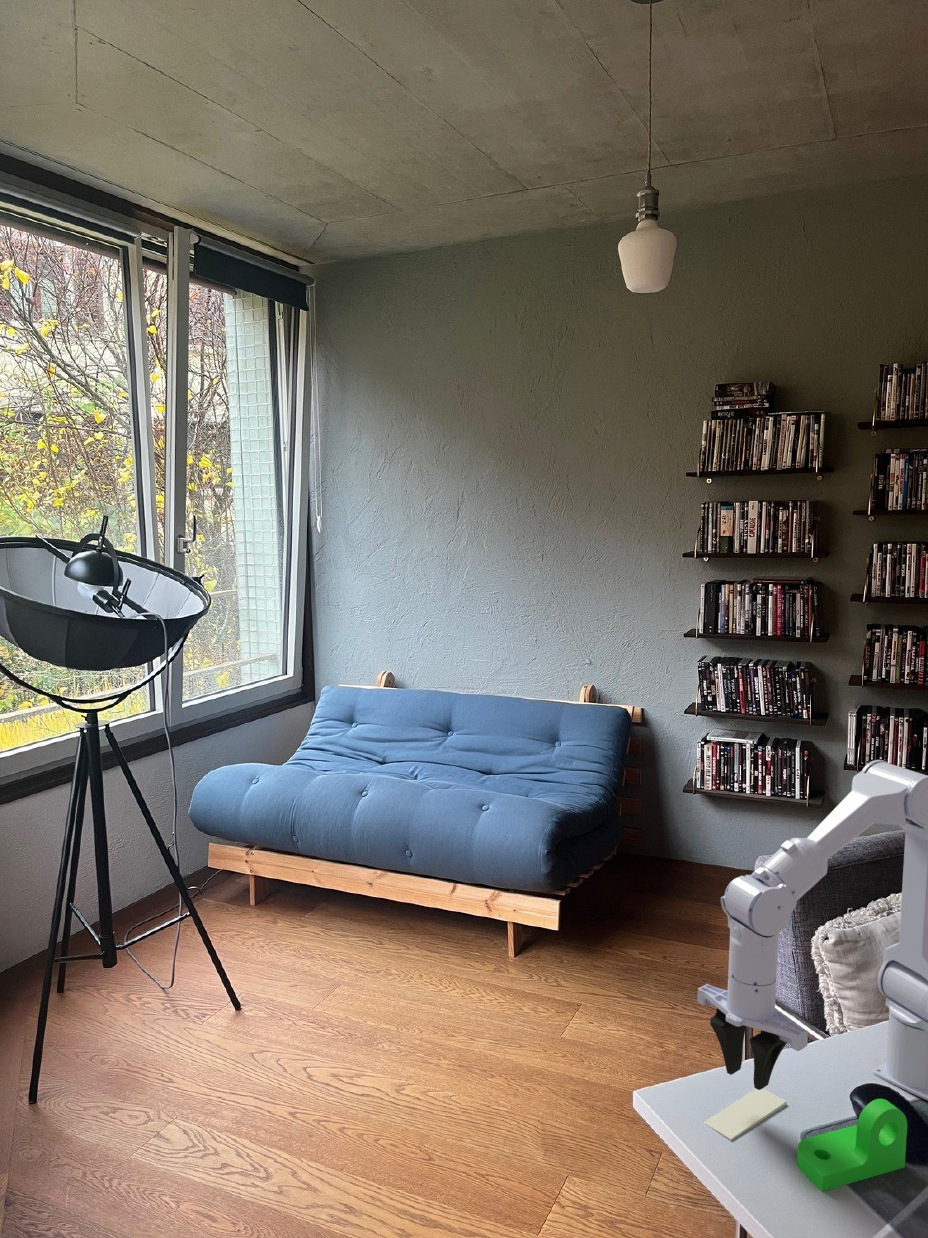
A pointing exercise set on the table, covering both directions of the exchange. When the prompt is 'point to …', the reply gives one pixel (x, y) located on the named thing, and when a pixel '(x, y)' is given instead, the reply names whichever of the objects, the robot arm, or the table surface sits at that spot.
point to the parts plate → (745, 1113)
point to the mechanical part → (856, 1148)
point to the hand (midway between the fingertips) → (747, 1078)
